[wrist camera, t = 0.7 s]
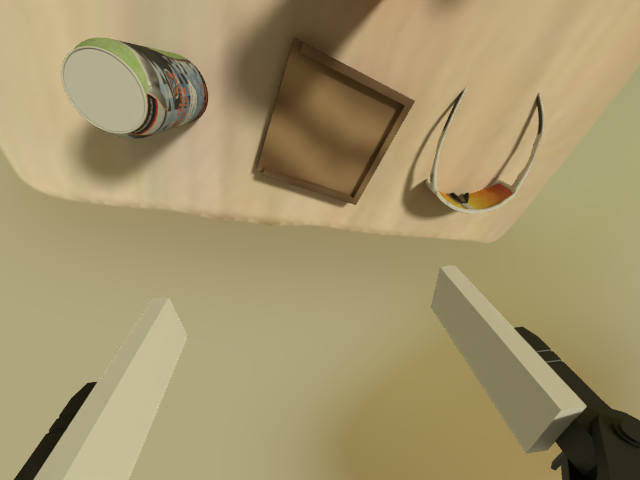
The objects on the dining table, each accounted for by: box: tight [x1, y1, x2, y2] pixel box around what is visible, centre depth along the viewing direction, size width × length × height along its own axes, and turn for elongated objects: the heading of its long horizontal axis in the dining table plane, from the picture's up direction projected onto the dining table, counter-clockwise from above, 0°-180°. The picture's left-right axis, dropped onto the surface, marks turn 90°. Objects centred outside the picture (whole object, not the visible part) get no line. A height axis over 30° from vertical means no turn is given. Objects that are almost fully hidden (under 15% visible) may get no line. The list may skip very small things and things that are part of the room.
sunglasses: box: [426, 87, 544, 214], centre depth 34 cm, size 14×15×5 cm
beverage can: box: [61, 38, 208, 139], centre depth 21 cm, size 6×7×12 cm
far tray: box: [257, 38, 415, 205], centre depth 30 cm, size 14×14×2 cm
